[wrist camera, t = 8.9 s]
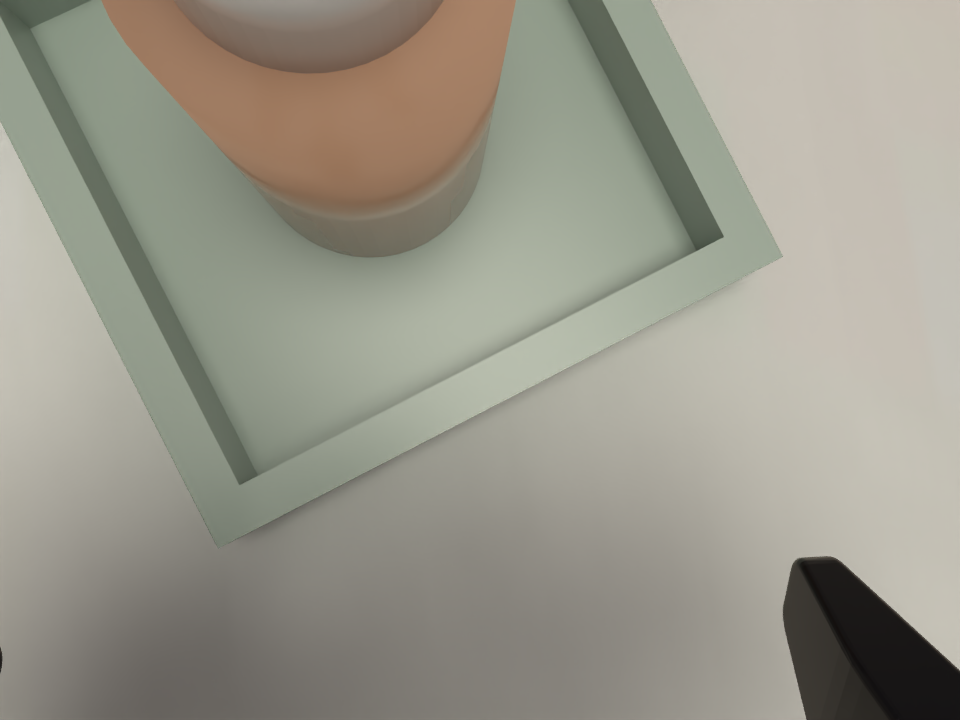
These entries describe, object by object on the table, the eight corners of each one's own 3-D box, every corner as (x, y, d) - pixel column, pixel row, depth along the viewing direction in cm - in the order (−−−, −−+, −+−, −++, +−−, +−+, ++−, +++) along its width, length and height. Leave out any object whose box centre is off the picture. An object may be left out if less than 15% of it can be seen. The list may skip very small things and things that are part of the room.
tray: (245, 528, 20) (218, 548, 17) (-15, 20, 20) (-78, -32, 18) (741, 272, 21) (782, 256, 18) (492, -213, 21) (499, -293, 19)
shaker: (409, 300, 20) (362, 149, 7) (208, 180, 20) (-188, -183, 7) (526, 106, 20) (673, -355, 8) (330, -14, 20) (154, -682, 8)
